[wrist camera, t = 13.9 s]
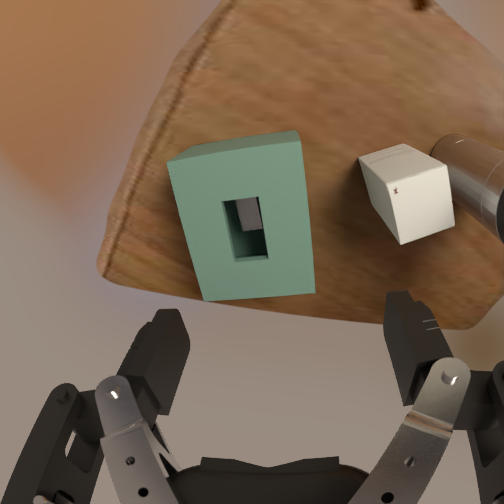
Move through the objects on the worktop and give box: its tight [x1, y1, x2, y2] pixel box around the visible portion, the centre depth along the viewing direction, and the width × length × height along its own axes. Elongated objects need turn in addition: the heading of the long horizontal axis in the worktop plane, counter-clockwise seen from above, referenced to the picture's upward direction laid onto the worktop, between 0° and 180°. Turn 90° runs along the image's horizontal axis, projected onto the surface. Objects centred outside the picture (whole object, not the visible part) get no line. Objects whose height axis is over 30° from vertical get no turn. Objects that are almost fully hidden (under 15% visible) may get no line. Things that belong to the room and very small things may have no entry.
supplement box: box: [358, 144, 455, 245], centre depth 34 cm, size 7×7×13 cm
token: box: [235, 197, 263, 231], centre depth 40 cm, size 2×5×5 cm, turn 12°
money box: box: [166, 130, 315, 301], centre depth 39 cm, size 14×18×10 cm
